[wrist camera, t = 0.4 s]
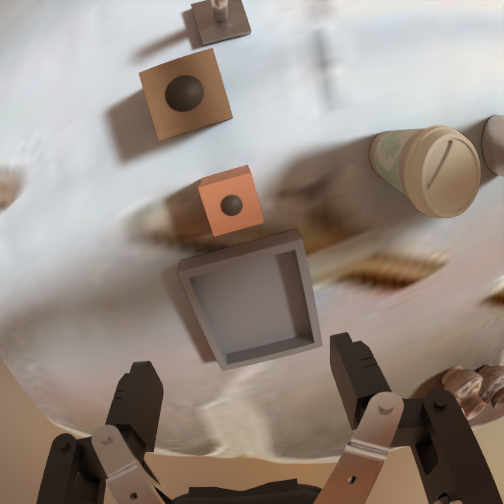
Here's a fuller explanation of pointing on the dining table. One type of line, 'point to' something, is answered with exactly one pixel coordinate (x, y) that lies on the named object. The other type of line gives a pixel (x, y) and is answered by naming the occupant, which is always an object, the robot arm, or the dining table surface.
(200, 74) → the block
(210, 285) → the tray
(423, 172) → the coffee cup
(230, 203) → the block
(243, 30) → the pin gauge stand
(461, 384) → the pottery
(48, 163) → the dining table surface
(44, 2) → the dining table surface
